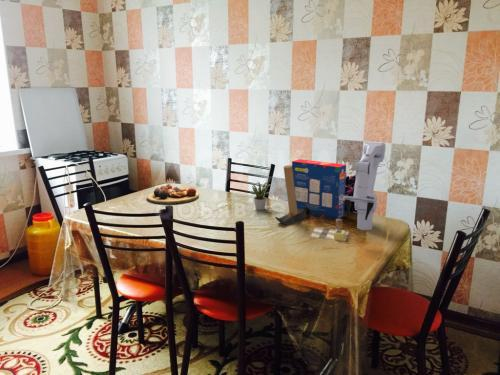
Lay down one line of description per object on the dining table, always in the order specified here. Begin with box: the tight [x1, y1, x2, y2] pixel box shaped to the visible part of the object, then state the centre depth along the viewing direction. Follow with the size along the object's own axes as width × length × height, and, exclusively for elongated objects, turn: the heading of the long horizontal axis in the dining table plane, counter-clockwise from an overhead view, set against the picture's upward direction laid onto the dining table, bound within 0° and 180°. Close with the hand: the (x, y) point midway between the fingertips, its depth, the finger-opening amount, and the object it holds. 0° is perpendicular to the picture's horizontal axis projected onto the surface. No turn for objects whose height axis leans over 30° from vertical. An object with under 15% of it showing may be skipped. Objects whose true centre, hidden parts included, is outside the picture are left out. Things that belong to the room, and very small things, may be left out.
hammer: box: [274, 164, 311, 226], centre depth 218 cm, size 20×5×30 cm, turn 129°
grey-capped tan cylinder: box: [335, 218, 343, 231], centre depth 203 cm, size 3×3×6 cm
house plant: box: [250, 180, 273, 211], centre depth 243 cm, size 14×14×16 cm
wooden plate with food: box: [146, 183, 200, 205], centre depth 268 cm, size 32×32×8 cm
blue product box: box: [291, 159, 347, 220], centre depth 232 cm, size 28×8×28 cm, turn 53°
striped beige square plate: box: [309, 227, 350, 242], centre depth 201 cm, size 14×16×1 cm
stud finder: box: [334, 229, 346, 241], centre depth 195 cm, size 5×4×3 cm
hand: (357, 218), depth 189 cm, fingers open, 7 cm apart
